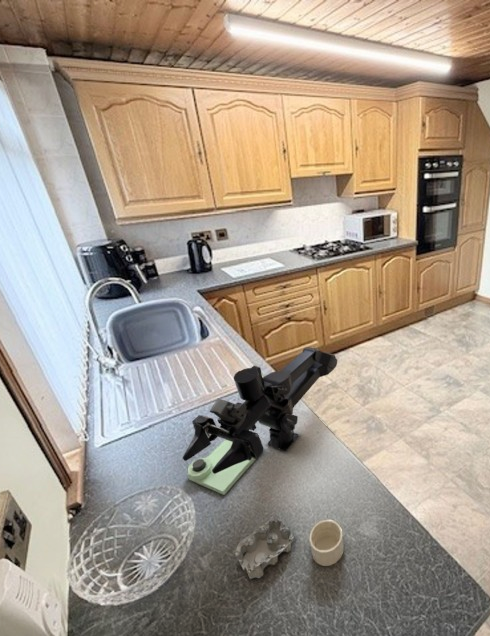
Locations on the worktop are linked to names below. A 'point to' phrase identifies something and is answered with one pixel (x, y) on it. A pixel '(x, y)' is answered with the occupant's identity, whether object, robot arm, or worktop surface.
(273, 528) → the egg carton
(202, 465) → the button
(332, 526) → the cup
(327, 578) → the worktop surface
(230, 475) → the scale
